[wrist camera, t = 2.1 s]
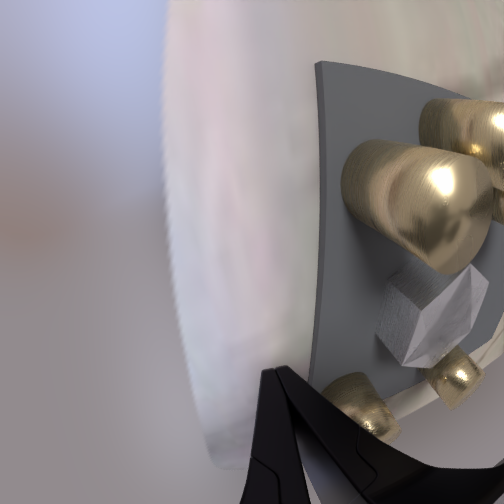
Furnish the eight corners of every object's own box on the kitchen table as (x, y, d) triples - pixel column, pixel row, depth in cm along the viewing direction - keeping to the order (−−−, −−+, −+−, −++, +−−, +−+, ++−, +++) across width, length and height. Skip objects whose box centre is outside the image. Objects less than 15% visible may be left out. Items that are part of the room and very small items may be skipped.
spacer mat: (534, 133, 10) (539, 135, 10) (488, 335, 18) (491, 338, 17) (314, 63, 7) (321, 60, 7) (302, 420, 15) (305, 426, 14)
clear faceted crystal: (451, 222, 10) (489, 242, 8) (459, 291, 12) (487, 313, 10) (359, 300, 11) (391, 336, 9) (385, 356, 13) (408, 386, 11)
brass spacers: (532, 137, 10) (576, 151, 6) (486, 333, 16) (514, 359, 13) (336, 76, 7) (428, 55, 3) (315, 412, 14) (340, 468, 10)
